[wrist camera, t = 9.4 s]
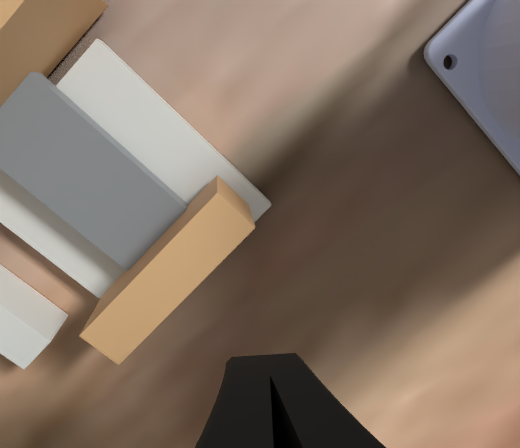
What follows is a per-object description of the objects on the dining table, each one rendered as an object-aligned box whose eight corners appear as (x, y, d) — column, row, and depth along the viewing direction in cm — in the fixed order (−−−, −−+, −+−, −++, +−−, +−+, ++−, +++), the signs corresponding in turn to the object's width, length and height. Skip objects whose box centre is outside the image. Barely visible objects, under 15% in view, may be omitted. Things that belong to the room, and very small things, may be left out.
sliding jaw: (275, 169, 17) (298, 198, 12) (114, 332, 18) (77, 418, 13) (58, -44, 14) (-23, -116, 9) (-112, 161, 15) (-260, 191, 11)
